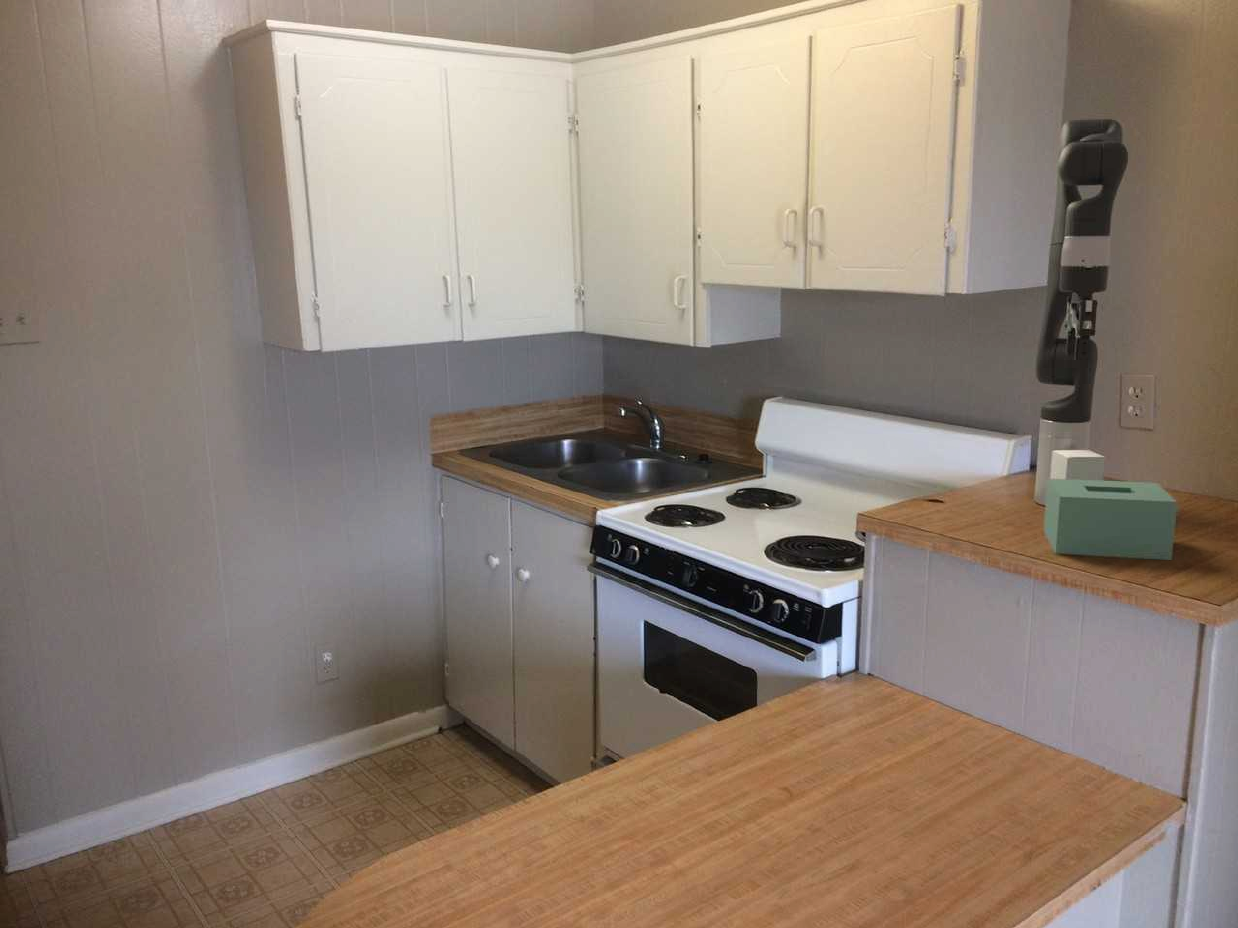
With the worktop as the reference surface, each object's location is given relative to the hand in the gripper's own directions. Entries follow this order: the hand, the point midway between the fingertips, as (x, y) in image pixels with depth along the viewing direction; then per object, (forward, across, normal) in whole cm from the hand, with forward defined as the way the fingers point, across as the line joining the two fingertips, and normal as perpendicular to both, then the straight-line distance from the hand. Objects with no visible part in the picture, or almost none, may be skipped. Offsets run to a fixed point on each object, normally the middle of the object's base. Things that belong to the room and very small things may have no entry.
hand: (1077, 358), depth 179 cm
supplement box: (+32, -14, +4) cm, 35 cm away
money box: (+32, +5, +6) cm, 33 cm away
